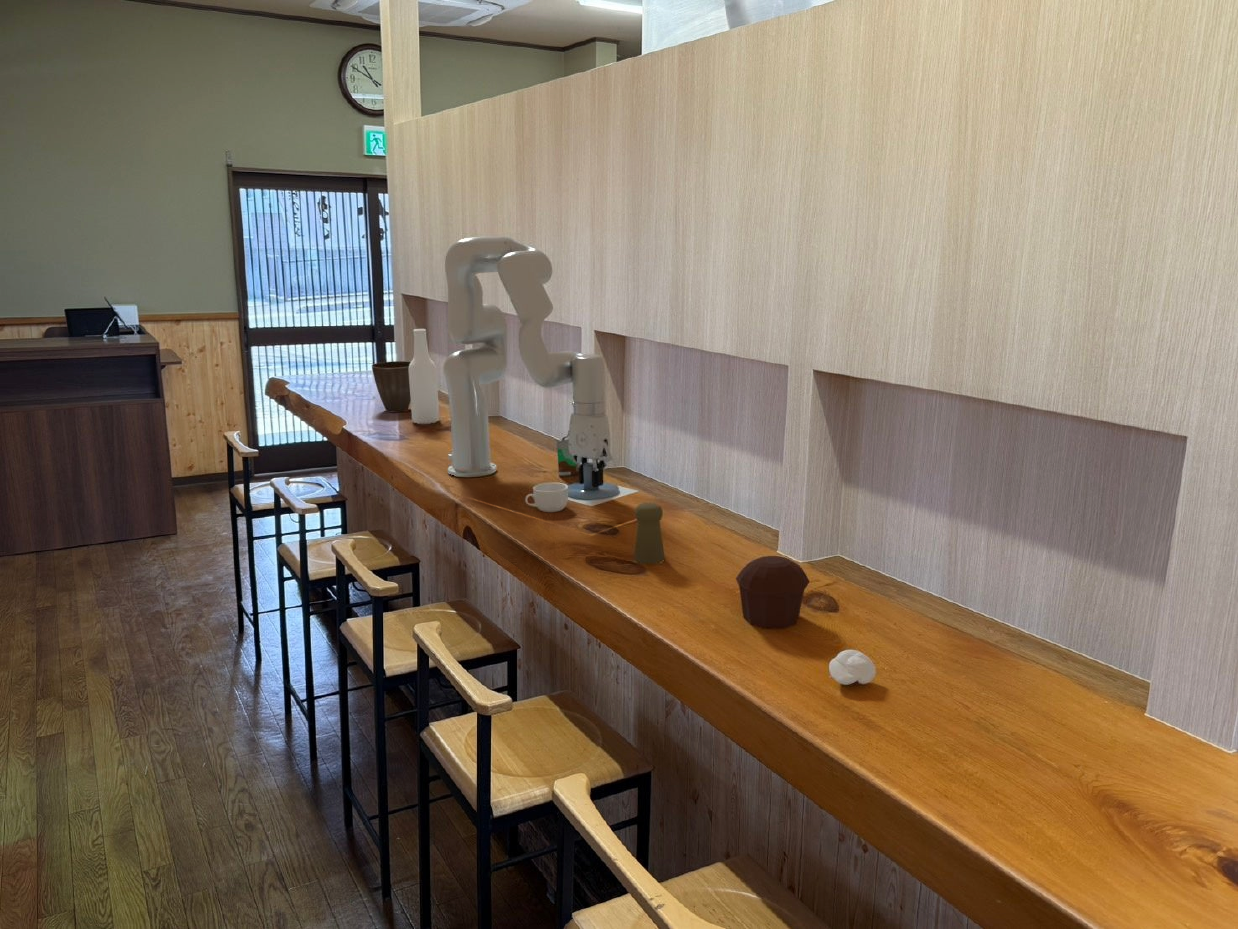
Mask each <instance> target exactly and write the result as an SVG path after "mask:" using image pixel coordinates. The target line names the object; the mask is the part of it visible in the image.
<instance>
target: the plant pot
mask: <svg viewBox="0 0 1238 929" xmlns="http://www.w3.org/2000/svg"><path fill="white" fill-rule="evenodd" d="M410 363H411V361H402V360H398V361H383V362H377V363H373V364H371V369H372V370H371V371H372V374H373V378H374V383H375V386H376V388H377V392H378V394H379V397H380V400H381V402H382V405H383V407H384V409H385V411H386V410H387V411H386V412H388V411H403V412H406V411H405V410H407V411H408V410H409V408H410V406H411V398H410V384H409V371H408V370H409V365H410Z"/></svg>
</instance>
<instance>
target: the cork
mask: <svg viewBox="0 0 1238 929" xmlns="http://www.w3.org/2000/svg"><path fill="white" fill-rule="evenodd" d="M634 516H635V519H636V520H637V527H636V528H637V529H636V536H635V545H634V553H633V561H634V560H635V561H636V562H638V563H641V564H640V565H643V564H655V565H657V564H656V563H660V562H662V561H663V560H666V559H665V550H664V543H663V535H662V528H661V523H660V522H661V520H662V519H663V508H662V506H661V505H660V504H658V503H657V502H655V503H654V502H643V503H640V504H638V505H636V507H635V511H634ZM635 561H634V562H635ZM636 562H635V563H636ZM638 563H637V564H638ZM662 563H663V562H662ZM660 564H661V563H660Z"/></svg>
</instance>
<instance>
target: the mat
mask: <svg viewBox="0 0 1238 929" xmlns="http://www.w3.org/2000/svg"><path fill="white" fill-rule="evenodd" d="M617 486H618V487H619V493H618V494H617V495H615V496H613V497H610V498H606V499H599V500H580V499H574V498H570V497H568V501H570V502H574V503H577V504H582V505H585V506H589V507H593V506H597V505H599V504H600V505H601V504H604V503H607V502H609V501H612V500H616V499H619V498H622V497H623V498H624V497H626V496H629V495H632V494H635V493H638V492H640V491H639V490H636V489H632V488H630V487H629V488H628V487H624V486H622V485H621V486H620V485H617Z"/></svg>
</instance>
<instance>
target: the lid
mask: <svg viewBox="0 0 1238 929" xmlns="http://www.w3.org/2000/svg"><path fill="white" fill-rule="evenodd" d="M593 470H594V469H593V461H592V462H591V461H588V463H584V464H583V478H584V484H580V483H579V482H574V483H571V484H569V485H568V484H567V485H568V497H570V498H574V499H580V500H599V499H606V498H610V497H613V496H615V495H617V494H618V493H619V487H618V486H619V485H616V484H615V483H611V482H606V481H603V485H601V486H598V487H592V471H593Z"/></svg>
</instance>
